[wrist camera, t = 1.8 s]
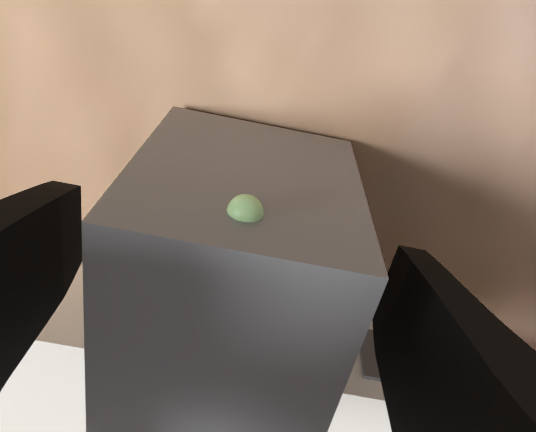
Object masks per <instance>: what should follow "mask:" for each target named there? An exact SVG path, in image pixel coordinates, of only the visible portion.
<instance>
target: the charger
mask: <svg viewBox="0 0 536 432" xmlns="http://www.w3.org/2000/svg"><path fill="white" fill-rule="evenodd" d="M82 265H83V312H84V359H85V406H86V432H328V429H329V427H330V424H331V422H332V419H333V417H334V414H335V412H336V409H337V407H338V404H339V402H340V399H341V397H342V394H343V392H344V389H345V387H346V384H347V382H348V379H349V377H350V374H351V372H352V369H353V367H354V364H355V362H356V359H357V357H358V354H359V352H360V349H361V347H362V344H363V342H364V339H365V337H366V334H367V332H368V329H369V327H370V324H371V322H372V319H373V317H374V314H375V312H376V309H377V307H378V304H379V302H380V299H381V297H382V294H383V292H384V289H385V287H386V284H387V282H388V279H389V278H388V274H387V271H386V267H385V263H384V260H383V256H382V253H381V249H380V245H379V242H378V238H377V235H376V231H375V227H374V224H373V220H372V217H371V213H370V210H369V206H368V202H367V199H366V195H365V192H364V188H363V184H362V181H361V177H360V174H359V170H358V166H357V163H356V159H355V156H354V152H353V148H352V145H351V141H346V140H341V139H335V138H330V137H325V136H320V135H315V134H310V133H305V132H300V131H295V130H290V129H285V128H280V127H275V126H270V125H265V124H260V123H255V122H250V121H245V120H240V119H235V118H229V117H224V116H219V115H214V114H209V113H204V112H199V111H194V110H189V109H184V108H179V107H174V106H173V108H172V109H171V110H170V111H169V113H168V114H167V115H166V116H165V118H164V119H163V120H162V121H161V123H160V124H159V125H158V126H157V128H156V129H155V130H154V132H153V133H152V134H151V135H150V137H149V138H148V139H147V140H146V142H145V143H144V144H143V145H142V147H141V148H140V149H139V150H138V152H137V153H136V154H135V155H134V157H133V158H132V159H131V160H130V162H129V163H128V164H127V165H126V167H125V168H124V169H123V170H122V172H121V173H120V174H119V175H118V177H117V178H116V179H115V180H114V182H113V183H112V184H111V185H110V187H109V188H108V189H107V191H106V192H105V193H104V194H103V196H102V197H101V198H100V199H99V201H98V202H97V203H96V204H95V206H94V207H93V208H92V209H91V211H90V212H89V213H88V214H87V216H86V217H85V218H84V219H83V221H82Z"/></svg>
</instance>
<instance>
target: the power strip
mask: <svg viewBox="0 0 536 432" xmlns="http://www.w3.org/2000/svg"><path fill="white" fill-rule="evenodd" d="M0 432H86V406H85V359H84V312H83V265H82V263H81V265H80V267H79V269H78V271H77V273H76V275H75V277H74V280H73V282H72V284H71V286H70V287H69V289H68V291H67V293H66V295H65V297H64V299H63V300H62V302H61V303H60V305H59V306H58V308H57V309H56V311H55V312H54V314H53V315H52V317H51V318H50V320H49V321H48V323H47V324H46V326H45V327H44V328H43V330H42V331H41V333H40V334H39V336H38V337H37V339H36V340H35V341H34V343H33V344H32V346H31V347H30V349H29V350H28V352H27V353H26V354H25V356H24V357H23V359H22V360H21V362H20V363H19V365H18V366H17V367H16V369H15V370H14V372H13V373H12V375H11V376H10V378H9V379H8V380H7V382H6V384H5V385H4V387H3V388H2V390H1V392H0ZM328 432H392V430H391V426H390V421H389V417H388V412H387V407H386V403H385V398H384V394H383V389H382V385H381V380H380V375H379V371H378V366H377V361H376V356H375V349H374V338H373V323H372V322H371V324H370V327H369V329H368V332H367V334H366V337H365V339H364V342H363V344H362V347H361V349H360V352H359V354H358V357H357V359H356V362H355V364H354V367H353V369H352V372H351V374H350V377H349V379H348V382H347V384H346V387H345V389H344V392H343V394H342V397H341V399H340V402H339V404H338V407H337V409H336V412H335V414H334V417H333V419H332V422H331V424H330V427H329V429H328Z"/></svg>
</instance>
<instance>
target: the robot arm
mask: <svg viewBox="0 0 536 432" xmlns="http://www.w3.org/2000/svg"><path fill="white" fill-rule="evenodd" d="M81 263H82V223H81V186H78V185H73V184H67V183H62V182H57V181H51V182H47V183H44V184H40V185H38V186H35V187H32V188H29V189H27V190H24V191H21V192H19V193H16V194H14V195H11V196H9V197H6V198H3V199H1V200H0V392H1V390H2V388H3V387H4V385H5V384H6V382H7V380H8V379H9V378H10V376H11V375H12V373H13V372H14V370H15V369H16V367H17V366H18V365H19V363H20V362H21V360H22V359H23V357H24V356H25V354H26V353H27V352H28V350H29V349H30V347H31V346H32V344H33V343H34V341H35V340H36V339H37V337H38V336H39V334H40V333H41V331H42V330H43V328H44V327H45V326H46V324H47V323H48V321H49V320H50V318H51V317H52V315H53V314H54V312H55V311H56V309H57V308H58V306H59V305H60V303H61V302H62V300H63V299H64V297H65V295H66V293H67V291H68V289H69V287H70V286H71V284H72V282H73V280H74V277H75V275H76V273H77V271H78V269H79V267H80V265H81ZM388 278H389V279H388V282H387V284H386V287H385V289H384V292H383V294H382V297H381V299H380V302H379V304H378V307H377V309H376V312H375V314H374V317H373V319H372V323H373V338H374V349H375V356H376V361H377V366H378V371H379V375H380V380H381V385H382V389H383V394H384V398H385V403H386V407H387V412H388V417H389V421H390V426H391V430H392V432H536V351H535V350H534V349H532V348H531V347H530V346H529V345H528V344H527V343H525V342H524V341H523V340H522V339H521V338H520V337H518V336H517V335H516V334H515V333H514V332H513V331H512V330H510V329H509V328H508V327H507V326H506V325H505V324H504V323H502V322H501V321H500V320H499V319H498V318H497V317H496V316H495V315H494V314H493V313H491V312H490V311H489V310H488V309H487V308H486V307H485V306H484V305H483V304H482V303H481V302H480V301H479V300H478V299H477V298H476V297H475V296H473V295H472V294H471V293H470V292H469V291H468V290H467V289H466V288H465V287H464V286H463V285H462V284H461V283H460V282H459V281H458V280H457V279H456V278H455V277H454V276H453V275H452V274H451V273H450V272H449V271H448V270H447V269H446V268H445V267H443V266H442V265H441V264H440V263H439V262H438V261H437V260H436V259H435V258H434V257H433V256H431V255H430V254H429V253H428V252H426V251H425V250H421V249H415V248H410V247H405V246H398V249H397V251H396V254H395V256H394V259H393V261H392V264H391V266H390V269H389V271H388Z"/></svg>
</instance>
